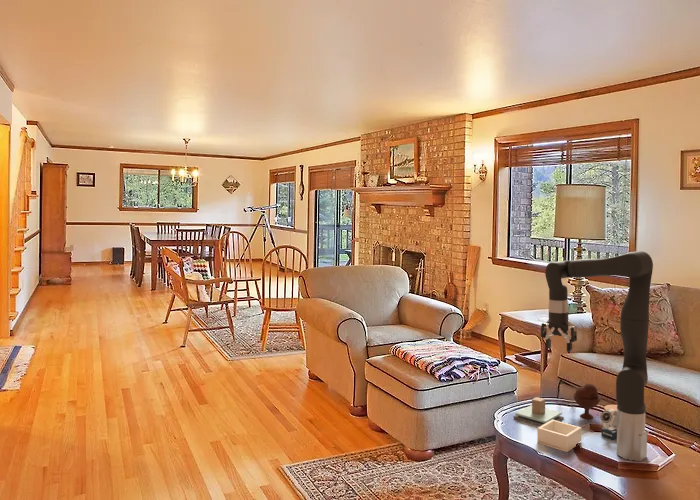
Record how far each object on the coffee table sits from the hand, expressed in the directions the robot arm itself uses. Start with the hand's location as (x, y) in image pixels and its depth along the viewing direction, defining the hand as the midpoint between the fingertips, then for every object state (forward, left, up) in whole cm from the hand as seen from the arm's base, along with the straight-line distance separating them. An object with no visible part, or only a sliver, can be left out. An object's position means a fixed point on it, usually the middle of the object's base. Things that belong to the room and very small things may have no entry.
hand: (558, 350), depth 233 cm
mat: (+12, -6, -34) cm, 36 cm away
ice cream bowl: (-2, -22, -34) cm, 40 cm away
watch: (-18, -8, -34) cm, 39 cm away
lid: (+12, -6, -32) cm, 34 cm away
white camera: (-16, -20, -34) cm, 42 cm away
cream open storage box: (-6, +11, -34) cm, 36 cm away
